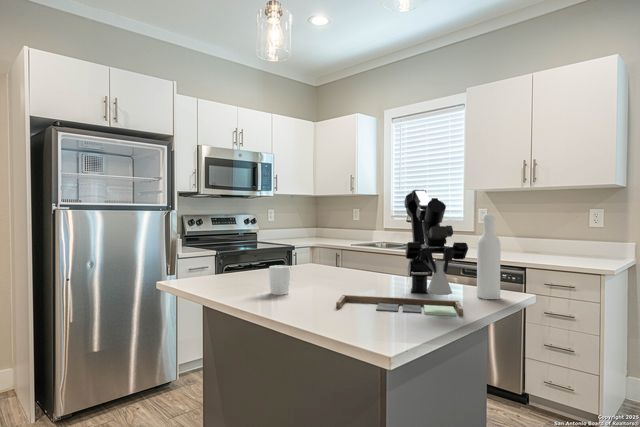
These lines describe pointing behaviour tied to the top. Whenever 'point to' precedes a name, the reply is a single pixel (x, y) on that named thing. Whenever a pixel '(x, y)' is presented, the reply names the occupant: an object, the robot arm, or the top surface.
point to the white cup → (279, 279)
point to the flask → (439, 281)
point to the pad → (439, 310)
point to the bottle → (488, 261)
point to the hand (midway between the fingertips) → (440, 272)
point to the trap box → (399, 303)
